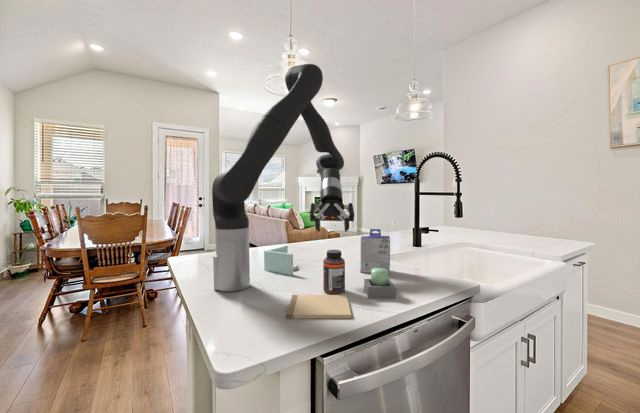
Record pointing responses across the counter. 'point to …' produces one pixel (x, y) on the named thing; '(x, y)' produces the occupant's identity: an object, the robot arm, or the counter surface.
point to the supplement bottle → (334, 273)
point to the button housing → (379, 290)
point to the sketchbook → (319, 306)
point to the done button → (379, 276)
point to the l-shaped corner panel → (279, 260)
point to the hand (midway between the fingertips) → (332, 230)
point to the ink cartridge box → (375, 251)
